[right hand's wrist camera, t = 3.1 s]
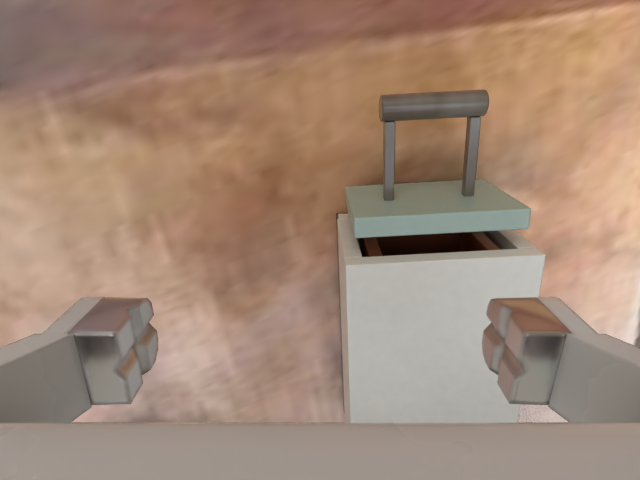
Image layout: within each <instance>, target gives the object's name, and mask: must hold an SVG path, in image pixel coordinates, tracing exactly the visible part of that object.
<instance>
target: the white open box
mask: <svg viewBox="0 0 640 480" xmlns="http://www.w3.org/2000/svg"><path fill="white" fill-rule="evenodd" d="M336 221H337V247H338V274H339V301H340V327H341V354H342V380H343V406H344V415H345V423H518V417H519V411H520V405H521V404H509V402H508V401H507V399H506V397H505V396H504V394H503V392H502V390H501V389H500V387H499V385H498V384H497V380H498V375H497V374H496V373H494V372H492V371H491V370H489V368H488V366H487V364H486V363H485V359H484V356H483V351H482V337H483V331H484V330H485V328H486V327H487V326H488V325H489V324H490V323H491V322H490V320H489V318H488V317H487V315H486V312H487V307H488V304H489V302H490V300H491V299H495V298H530V297H537V298H539V292H540V286H541V280H542V274H543V269H544V263H545V257H546V255H545V254H544V253H543V252H541V251H540V250H539V249H537V248H536V247H535V246H534V245H533V244H531V243H530V242H529V241H527V240H526V239H525V238H524V237H522V236H521V235H520V234H519V233H517V232H516V231H515V230H498V231H482V232H483V233H484V234H485V235H486V236H487V237H488V238H489V239H490V240H491V241H492V242H493V243H494V244H495V245H497V246H498V247H499V248H500V249H501V250H485V251H467V252H448V253H430V254H411V255H392V256H374V257H362V254H361V250H360V238H355V237H354V234H353V230H352V226H351V222H350V218H349V215H348V213H346V214H338V213H337V214H336Z"/></svg>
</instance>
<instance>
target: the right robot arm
mask: <svg viewBox="0 0 640 480" xmlns="http://www.w3.org/2000/svg"><path fill="white" fill-rule="evenodd" d="M153 315H154V313H153V308H152V303H151V301H150V300H149V299H148V298H113V297H107V298H105V297H86V298H80V299H79V300H78V301H77V302H76V303H75V304H74V305H73V306H72V307H71V308H70V309H68V310H67V311H66V312H65V313H64V314H63V315H62V316H61V317H60V318H59V319H58V320H56V321H55V322H54V323H53V324H52V325H51V326H50V327H49V328H48V329H47V330H46V331H44V332H43V333H42V334H33V335H31V336H28V337H26V338H24V339H21V340H19V341H16V342H14V343H11V344H9V345H6V346H4V347H1V348H0V480H640V348H639V347H636V346H634V345H631V344H629V343H626V342H624V341H621V340H619V339H616V338H614V337H612V336H609V335H607V334H598V333H597V332H596V331H595V330H593V329H592V328H591V327H590V326H589V325H588V324H587V323H586V322H585V321H584V320H583V319H581V318H580V317H579V316H578V315H577V314H576V313H575V312H574V311H573V310H572V309H571V308H570V307H568V306H567V305H566V304H565V303H564V302H563V301H562V300H561V299H560V298H556V297H539V298H537V297H530V298H495V299H491V300H490V302H489V304H488V307H487V312H486V315H487V317H488V318H489V320H490V322H491V323H490V324H489V325H488V326H487V327H486V328H485V330H484V331H483V337H482V351H483V356H484V359H485V363H486V364H487V366H488V368H489V370H491V371H492V372H494V373H496V374H497V375H498V380H497V384H498V385H499V387H500V389H501V390H502V392H503V394H504V396H505V397H506V399H507V401H508V402H509V404H531V405H549V406H548V407H549V408H551V409H552V410H553V411H555V412H556V413H557V414H559V415H560V416H561V417H563V418H564V419H565V420H567V421H568V422H569V423H71V422H72V421H73V420H75V419H76V418H77V417H79V416H80V415H81V414H83V413H84V412H85V411H87V410H88V409H89V408H91V405H108V404H131V403H132V401H133V399H134V397H135V396H136V394H137V392H138V391H139V389H140V387H141V385H142V384H143V380H142V375H143V374H145V373H146V372H148V371H149V370H151V368H152V366H153V364H154V362H155V360H156V356H157V351H158V336H157V331H156V330H155V328H154V327H153V326H152V325H151V324H150V323H149V322H150V320H151V318H152V317H153Z"/></svg>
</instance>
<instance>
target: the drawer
mask: <svg viewBox="0 0 640 480" xmlns="http://www.w3.org/2000/svg"><path fill="white" fill-rule="evenodd" d="M488 106H489V96H488V92H487V91H486V90H466V91H448V92H429V93H411V94H393V95H381V96H380V99H379V117H380V120H381V121H382V122H383V184H381V185H362V186H346V187H345V203H346V207H347V211H348V215H349V218H350V222H351V226H352V230H353V234H354V237H355V238H360V250H361V254H362V257H374V256H392V255H411V254H430V253H448V252H467V251H485V250H501V249H500V248H499V247H498V246H497V245H495V244H494V243H493V242H492V241H491V240H490V239H489V238H488V237H487V236H486V235H485V234H484V233H483V232H482V231H498V230H517V229H528V227H529V220H530V214H531V209H530V208H529V207H527V206H526V205H524V204H523V203H521V202H519V201H518V200H516V199H515V198H513V197H511V196H510V195H508V194H507V193H505V192H503V191H502V190H500V189H499V188H497V187H495V186H494V185H492V184H491V183H489V182H488V181H486V180H484V179H475V178H476V167H477V156H478V146H479V135H480V124H481V117H479V116H484V115H485V114H486V113H487V110H488ZM459 117H467V129H466V141H465V154H464V166H463V179H462V180H455V181H436V182H418V183H399V184H394V177H395V121H404V120H422V119H441V118H459Z"/></svg>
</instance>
